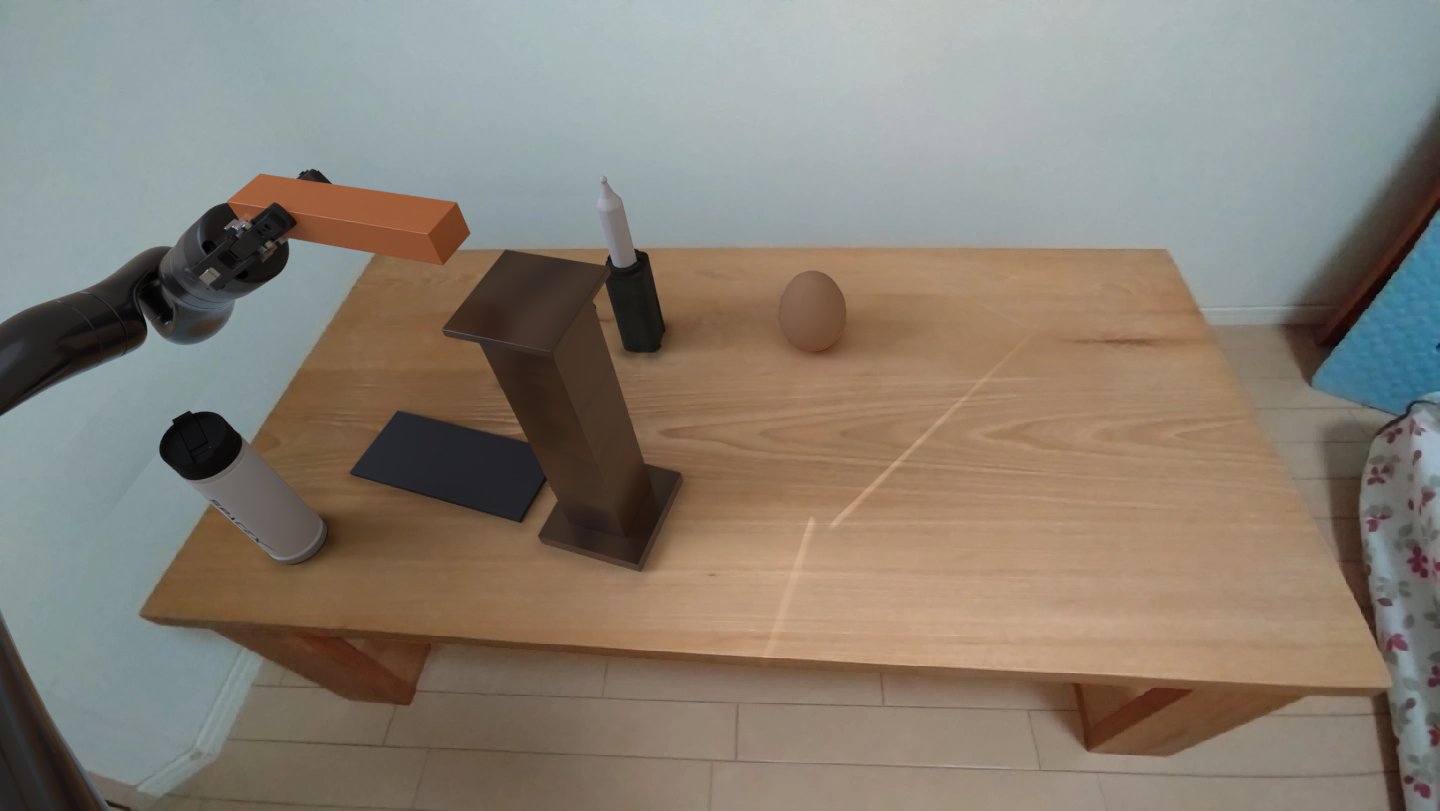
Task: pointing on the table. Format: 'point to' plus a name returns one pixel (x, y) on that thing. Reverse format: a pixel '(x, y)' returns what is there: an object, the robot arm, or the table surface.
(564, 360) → the pedestal
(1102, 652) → the table surface
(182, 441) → the travel mug
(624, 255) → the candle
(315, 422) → the table surface
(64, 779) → the robot arm
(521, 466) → the mat
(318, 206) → the lever bar
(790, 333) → the egg
